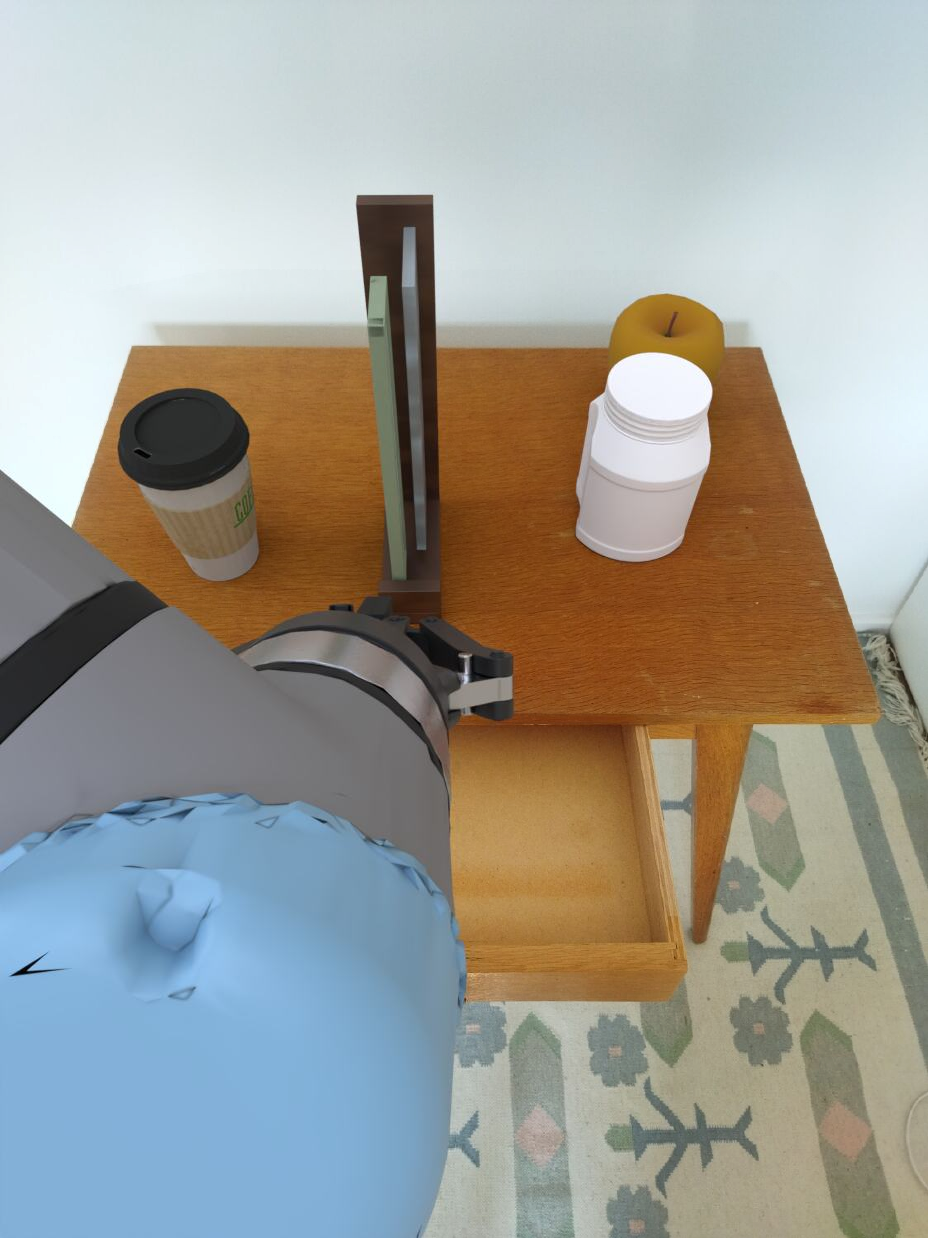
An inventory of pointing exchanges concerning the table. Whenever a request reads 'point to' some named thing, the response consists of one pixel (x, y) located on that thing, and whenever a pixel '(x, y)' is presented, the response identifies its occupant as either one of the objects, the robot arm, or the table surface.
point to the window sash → (387, 421)
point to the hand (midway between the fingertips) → (379, 619)
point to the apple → (669, 332)
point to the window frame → (410, 384)
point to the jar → (643, 457)
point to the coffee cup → (195, 477)
